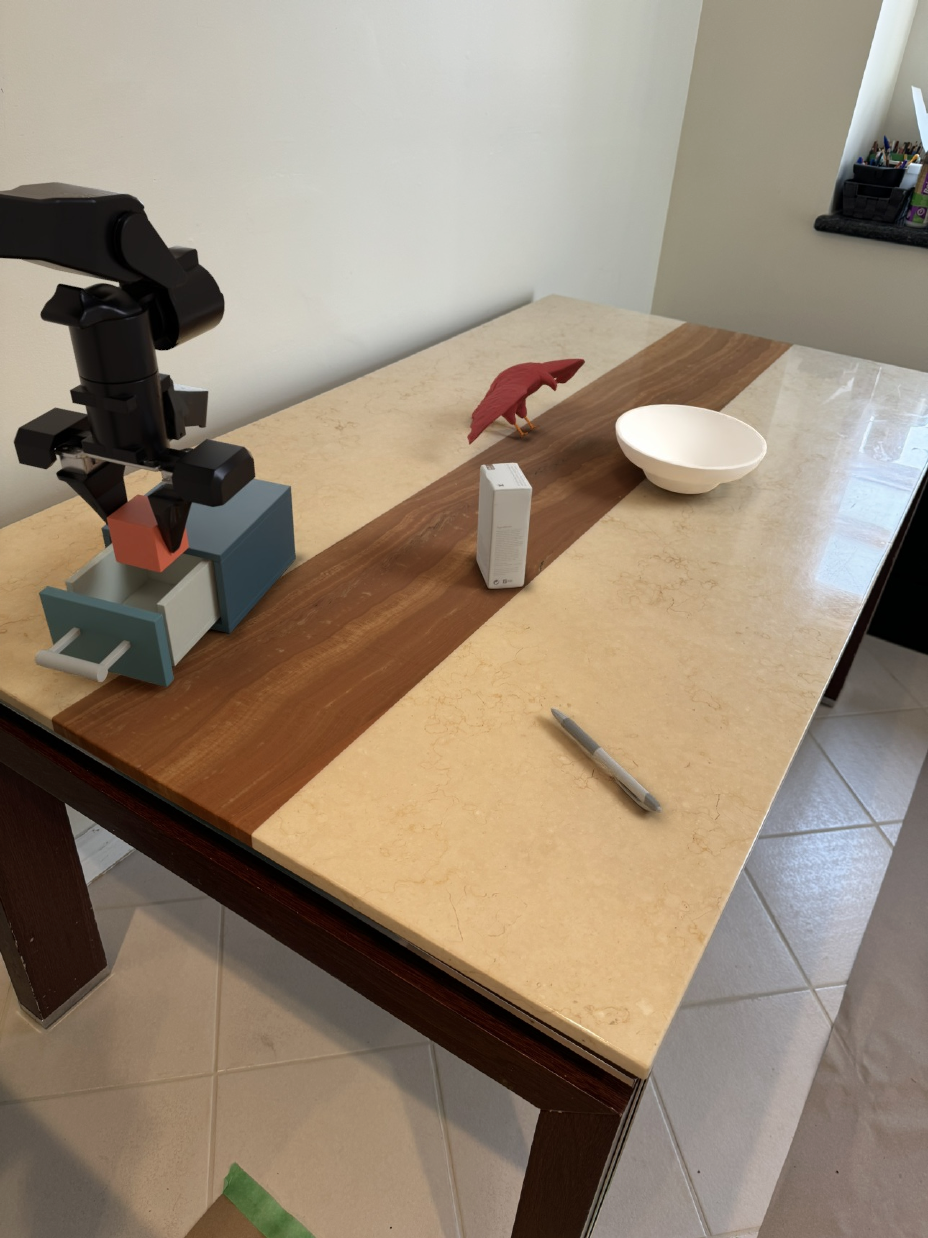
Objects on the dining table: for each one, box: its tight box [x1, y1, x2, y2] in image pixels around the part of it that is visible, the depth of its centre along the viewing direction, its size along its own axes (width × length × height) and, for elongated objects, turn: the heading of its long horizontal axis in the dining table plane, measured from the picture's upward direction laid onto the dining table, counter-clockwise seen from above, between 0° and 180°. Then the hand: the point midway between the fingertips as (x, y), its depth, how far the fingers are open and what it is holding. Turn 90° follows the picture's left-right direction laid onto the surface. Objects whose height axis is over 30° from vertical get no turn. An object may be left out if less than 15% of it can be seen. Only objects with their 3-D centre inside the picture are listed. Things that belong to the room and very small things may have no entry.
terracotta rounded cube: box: [107, 493, 189, 573], centre depth 75 cm, size 4×4×4 cm
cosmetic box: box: [476, 462, 533, 590], centre depth 93 cm, size 6×4×12 cm
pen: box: [550, 707, 663, 814], centre depth 74 cm, size 1×14×1 cm, turn 34°
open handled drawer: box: [34, 544, 221, 688], centre depth 80 cm, size 18×11×7 cm, turn 163°
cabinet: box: [101, 478, 297, 634], centre depth 90 cm, size 15×13×9 cm
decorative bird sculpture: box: [466, 358, 586, 446], centre depth 125 cm, size 28×9×15 cm
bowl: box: [615, 403, 768, 495], centre depth 116 cm, size 20×20×7 cm
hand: (151, 544), depth 75 cm, fingers closed on terracotta rounded cube, 4 cm apart
